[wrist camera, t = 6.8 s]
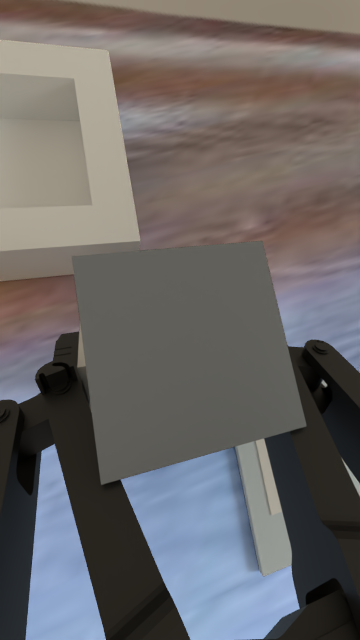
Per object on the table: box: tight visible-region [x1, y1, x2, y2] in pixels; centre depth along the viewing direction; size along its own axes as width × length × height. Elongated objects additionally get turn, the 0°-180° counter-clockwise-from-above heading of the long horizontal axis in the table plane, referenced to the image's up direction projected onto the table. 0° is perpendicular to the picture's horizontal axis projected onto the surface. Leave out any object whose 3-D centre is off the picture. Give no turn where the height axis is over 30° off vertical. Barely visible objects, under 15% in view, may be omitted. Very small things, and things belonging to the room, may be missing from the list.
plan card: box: [235, 380, 360, 577], centre depth 20 cm, size 10×12×1 cm
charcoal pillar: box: [72, 241, 306, 485], centre depth 13 cm, size 6×6×12 cm
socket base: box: [0, 40, 140, 281], centre depth 17 cm, size 14×14×4 cm
